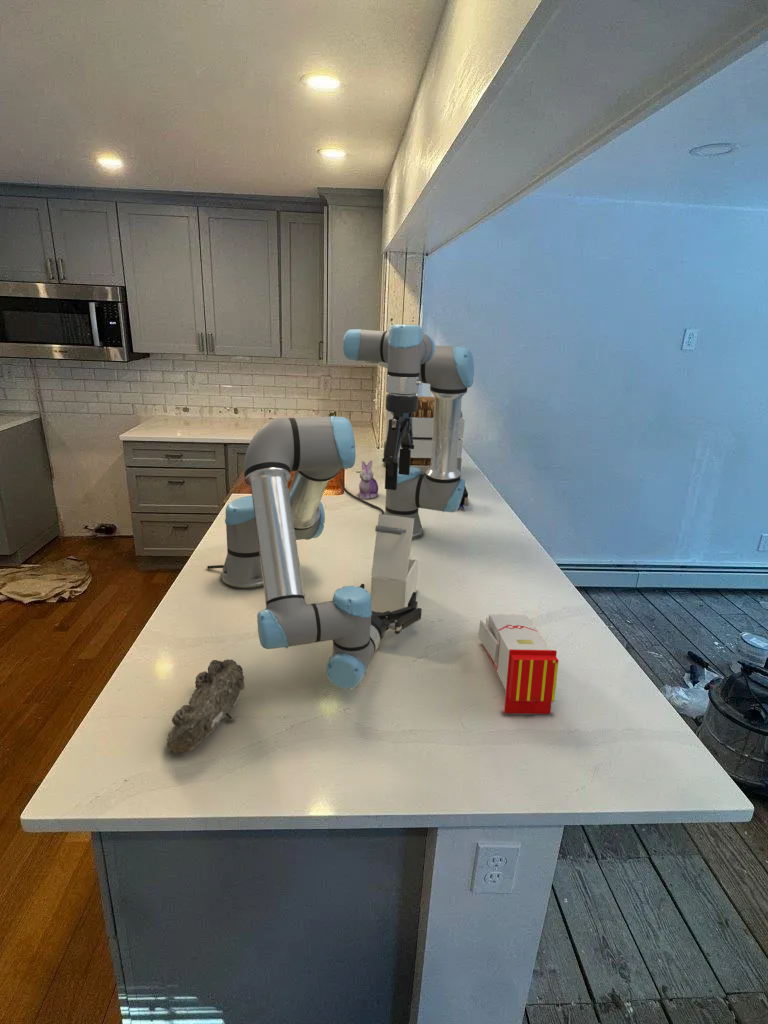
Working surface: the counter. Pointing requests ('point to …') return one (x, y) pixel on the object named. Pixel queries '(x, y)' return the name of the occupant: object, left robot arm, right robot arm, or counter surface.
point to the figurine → (367, 482)
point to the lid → (392, 547)
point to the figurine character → (464, 499)
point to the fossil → (206, 705)
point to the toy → (521, 662)
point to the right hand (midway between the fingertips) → (397, 481)
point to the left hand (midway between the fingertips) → (388, 592)
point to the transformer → (424, 434)
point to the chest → (393, 590)
